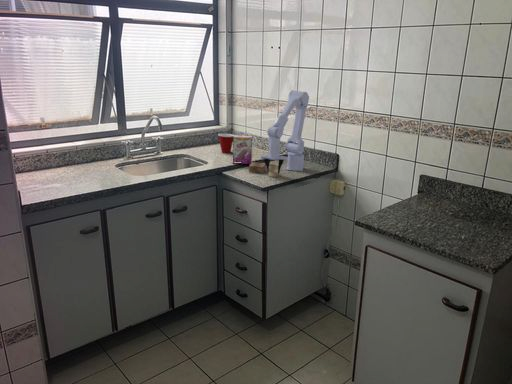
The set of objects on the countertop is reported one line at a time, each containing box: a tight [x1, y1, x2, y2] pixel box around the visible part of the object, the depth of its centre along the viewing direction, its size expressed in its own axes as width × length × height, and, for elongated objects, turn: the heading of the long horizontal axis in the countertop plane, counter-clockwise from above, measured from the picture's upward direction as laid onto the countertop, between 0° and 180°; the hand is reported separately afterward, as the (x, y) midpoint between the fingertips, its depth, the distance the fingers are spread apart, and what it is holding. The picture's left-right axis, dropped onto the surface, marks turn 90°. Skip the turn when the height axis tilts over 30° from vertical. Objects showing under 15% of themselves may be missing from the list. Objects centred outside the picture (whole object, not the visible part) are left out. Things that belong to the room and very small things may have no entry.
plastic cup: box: [217, 133, 235, 154], centre depth 271 cm, size 11×11×12 cm
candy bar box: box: [232, 134, 254, 165], centre depth 247 cm, size 11×5×16 cm, turn 84°
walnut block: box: [248, 161, 267, 174], centre depth 235 cm, size 8×8×4 cm
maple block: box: [268, 163, 280, 178], centre depth 227 cm, size 5×5×6 cm
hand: (273, 172), depth 228 cm, fingers closed on maple block, 5 cm apart
